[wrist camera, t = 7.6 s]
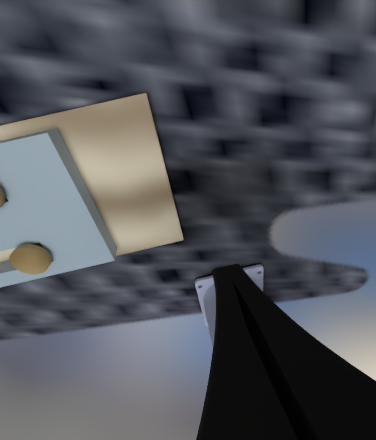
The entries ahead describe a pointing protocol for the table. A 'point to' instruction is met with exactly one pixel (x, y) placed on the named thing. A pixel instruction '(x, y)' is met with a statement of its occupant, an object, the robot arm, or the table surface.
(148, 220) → the board
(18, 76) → the table surface
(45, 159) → the panel
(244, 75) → the table surface
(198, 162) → the table surface
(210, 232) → the table surface
